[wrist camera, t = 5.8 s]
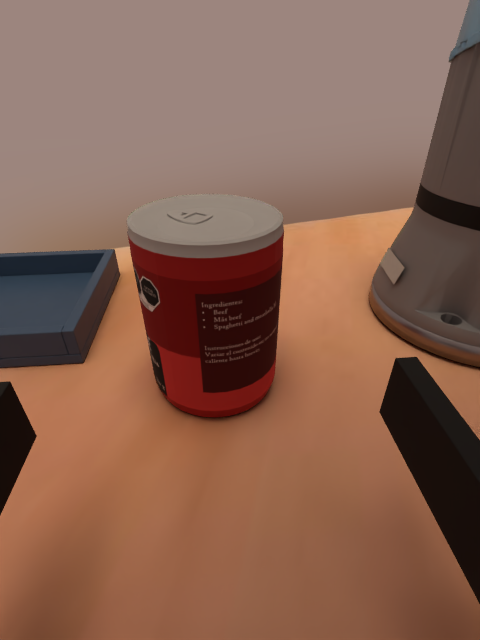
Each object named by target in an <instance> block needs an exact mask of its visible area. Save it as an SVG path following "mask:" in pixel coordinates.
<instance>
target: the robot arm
mask: <svg viewBox="0 0 480 640" xmlns="http://www.w3.org/2000/svg"><path fill="white" fill-rule="evenodd" d="M449 62H451V66H450V70H449V74H448V77H447V82H446V85H445V89H444V93H443V97H442V101H441V105H440V109H439V113H438V117H437V121H436V124H435V128H434V132H433V136H432V140H431V144H430V148H429V152H428V156H427V160H426V164H425V168H424V171H423V175H422V179H421V183H420V187H419V191H418V194H417V198H416V202H415V205H414V209H413V211H412V214H411V215H410V217H409V219H408V220H407V222H406V223H405V225H404V227H403V228H402V230H401V231H400V233H399V234H398V236H397V238H396V239H395V241H394V242H393V244H392V246H391V247H390V248H388V250H387V252H386V253H385V255H384V257H383V259H382V260H381V262H380V265H379V266H378V268H377V270H376V273H375V274H374V277H373V280H372V285H371V289H370V294H369V301H370V305H371V307H372V309H373V311H374V313H375V314H376V316H377V317H378V318H379V319H380V320H381V321H382V322H383V323H384V324H385V325H386V326H387V327H388V328H389V329H390V330H392V331H393V332H394V333H396V334H397V335H399V336H400V337H402V338H403V339H405V340H407V341H409V342H410V343H412V344H414V345H416V346H418V347H420V348H422V349H424V350H427V351H429V352H431V353H434V354H436V355H439V356H442V357H444V358H447V359H450V360H454V361H457V362H461V363H464V364H468V365H472V366H477V367H480V0H470V2H469V5H468V8H467V11H466V14H465V18H464V21H463V24H462V27H461V30H460V33H459V37H458V40H457V43H456V46H455V48H454V49H453V50H452V51H451V54H450V57H449ZM380 414H381V416H382V418H383V420H384V422H385V424H386V425H387V427H388V429H389V431H390V433H391V435H392V437H393V439H394V441H395V443H396V445H397V446H398V448H399V450H400V452H401V454H402V456H403V458H404V460H405V462H406V464H407V466H408V468H409V469H410V471H411V473H412V475H413V477H414V479H415V481H416V483H417V485H418V487H419V489H420V490H421V492H422V494H423V496H424V498H425V500H426V502H427V504H428V506H429V508H430V510H431V512H432V513H433V515H434V517H435V519H436V521H437V523H438V525H439V527H440V529H441V531H442V533H443V535H444V536H445V538H446V540H447V542H448V544H449V546H450V548H451V550H452V552H453V554H454V556H455V557H456V559H457V561H458V563H459V565H460V567H461V569H462V571H463V573H464V575H465V577H466V579H467V580H468V582H469V584H470V586H471V588H472V590H473V592H474V594H475V596H476V598H477V600H478V602H479V603H480V440H479V439H478V438H477V436H476V435H475V434H474V432H473V431H472V430H471V428H470V427H469V426H468V424H467V423H466V422H465V420H464V419H463V418H462V417H461V415H460V414H459V413H458V411H457V410H456V409H455V407H454V406H453V405H452V403H451V402H450V401H449V399H448V398H447V397H446V395H445V394H444V393H443V391H442V390H441V389H440V387H439V386H438V385H437V383H436V382H435V381H434V379H433V378H432V377H431V375H430V374H429V373H428V371H427V370H426V369H425V367H424V366H423V365H422V364H421V362H420V361H419V360H418V358H417V357H409V358H396V359H395V362H394V366H393V369H392V372H391V375H390V379H389V382H388V385H387V389H386V392H385V395H384V399H383V402H382V405H381V409H380ZM35 438H36V434H35V432H34V430H33V428H32V426H31V424H30V421H29V419H28V417H27V415H26V413H25V411H24V409H23V407H22V405H21V403H20V401H19V399H18V397H17V395H16V393H15V391H14V388H13V386H12V384H11V382H0V515H1V513H2V510H3V508H4V506H5V504H6V502H7V499H8V497H9V495H10V493H11V491H12V489H13V486H14V484H15V482H16V480H17V478H18V476H19V473H20V471H21V469H22V467H23V465H24V462H25V460H26V458H27V456H28V454H29V452H30V449H31V447H32V445H33V443H34V441H35Z"/></svg>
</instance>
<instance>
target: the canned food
mask: <svg viewBox="0 0 480 640" xmlns="http://www.w3.org/2000/svg"><path fill="white" fill-rule="evenodd" d="M127 225H128V232H127V233H128V238H129V244H130V250H131V257H132V262H133V267H134V272H135V277H136V282H137V288H138V293H139V298H140V303H141V308H142V313H143V319H144V324H145V329H146V334H147V339H148V344H149V349H150V355H151V360H152V365H153V370H154V375H155V379H156V383H157V385H158V386H159V388H160V390H161V391H162V393H163V394H164V396H165V397H166V399H167V400H168V401H169V402H170V403H171V404H172V405H174V406H176V407H177V408H179V409H180V410H182V411H185V412H187V413H190V414H193V415H197V416H202V417H226V416H231V415H235V414H239V413H241V412H244V411H246V410H248V409H250V408H252V407H253V406H255V405H256V404H258V403H259V402H260V401H261V400H262V399H263V397H264V396H265V395H266V393H267V391H268V390H269V388H270V386H271V384H272V382H273V378H274V374H275V363H276V348H277V333H278V318H279V303H280V289H281V274H282V259H283V237H284V228H283V215H282V214H281V212H280V211H279V210H278V209H276V208H275V207H273V206H272V205H269V204H267V203H265V202H263V201H259V200H256V199H252V198H247V197H242V196H235V195H224V194H193V195H182V196H176V197H170V198H165V199H161V200H157V201H154V202H151V203H148V204H146V205H143V206H141V207H139V208H138V209H136V210H135V211H133V212H132V213H131V214H130V215H129V216H128V219H127Z"/></svg>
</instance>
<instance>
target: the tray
mask: <svg viewBox="0 0 480 640" xmlns="http://www.w3.org/2000/svg"><path fill="white" fill-rule="evenodd" d="M119 276H120V273H119V268H118V263H117V259H116V254H115V250H114V249H108V250H83V251H59V252H58V251H56V252H32V253H31V252H30V253H5V254H0V368H3V367H20V366H37V365H54V364H71V363H83V362H84V360H85V358H86V355H87V353H88V351H89V348H90V346H91V343H92V341H93V339H94V336H95V334H96V331H97V329H98V327H99V324H100V322H101V319H102V317H103V314H104V312H105V310H106V307H107V305H108V302H109V300H110V298H111V295H112V293H113V290H114V288H115V285H116V283H117V281H118V278H119Z"/></svg>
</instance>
